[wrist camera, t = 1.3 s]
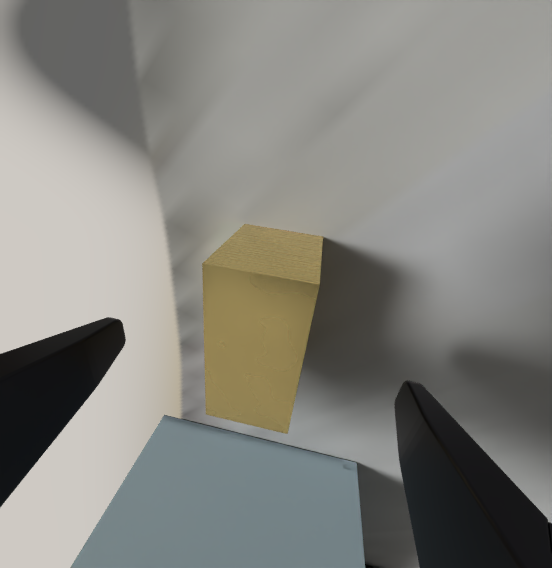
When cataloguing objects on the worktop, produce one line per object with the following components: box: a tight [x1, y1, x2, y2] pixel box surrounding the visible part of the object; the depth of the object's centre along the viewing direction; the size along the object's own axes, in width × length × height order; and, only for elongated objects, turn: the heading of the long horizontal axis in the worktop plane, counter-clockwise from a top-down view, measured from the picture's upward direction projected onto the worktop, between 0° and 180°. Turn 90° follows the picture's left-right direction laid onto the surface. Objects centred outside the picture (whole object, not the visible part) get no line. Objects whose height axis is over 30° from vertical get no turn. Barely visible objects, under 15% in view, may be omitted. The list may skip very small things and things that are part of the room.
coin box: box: [71, 415, 365, 568], centre depth 16 cm, size 12×12×8 cm
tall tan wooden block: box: [202, 224, 323, 434], centre depth 10 cm, size 3×6×4 cm, turn 173°
